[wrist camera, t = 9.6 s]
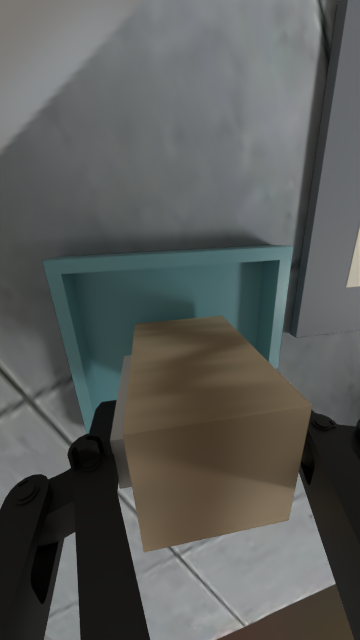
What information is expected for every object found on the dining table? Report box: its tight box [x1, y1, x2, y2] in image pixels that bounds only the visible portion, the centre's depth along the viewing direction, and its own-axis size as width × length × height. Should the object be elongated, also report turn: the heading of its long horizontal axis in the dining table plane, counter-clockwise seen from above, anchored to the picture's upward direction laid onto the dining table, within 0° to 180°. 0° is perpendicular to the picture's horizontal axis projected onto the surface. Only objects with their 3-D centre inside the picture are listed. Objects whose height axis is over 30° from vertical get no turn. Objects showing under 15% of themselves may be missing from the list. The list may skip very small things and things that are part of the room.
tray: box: [43, 245, 293, 434], centre depth 17 cm, size 15×15×2 cm
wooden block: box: [123, 315, 312, 552], centre depth 12 cm, size 6×6×9 cm
